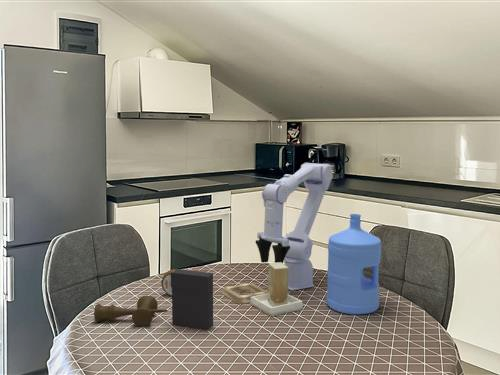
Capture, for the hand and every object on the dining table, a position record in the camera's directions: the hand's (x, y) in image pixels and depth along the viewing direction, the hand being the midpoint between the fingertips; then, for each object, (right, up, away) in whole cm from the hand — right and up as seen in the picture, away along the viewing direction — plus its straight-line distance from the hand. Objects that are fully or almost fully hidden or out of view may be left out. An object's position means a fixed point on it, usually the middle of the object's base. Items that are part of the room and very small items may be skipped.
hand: (271, 264), depth 158 cm
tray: (+1, -12, -8) cm, 14 cm away
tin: (-28, -10, +1) cm, 30 cm away
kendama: (-40, -13, -19) cm, 46 cm away
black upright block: (-22, -13, -22) cm, 34 cm away
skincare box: (+2, -11, -8) cm, 14 cm away
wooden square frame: (-8, -10, +2) cm, 13 cm away
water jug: (+24, -12, -6) cm, 28 cm away
